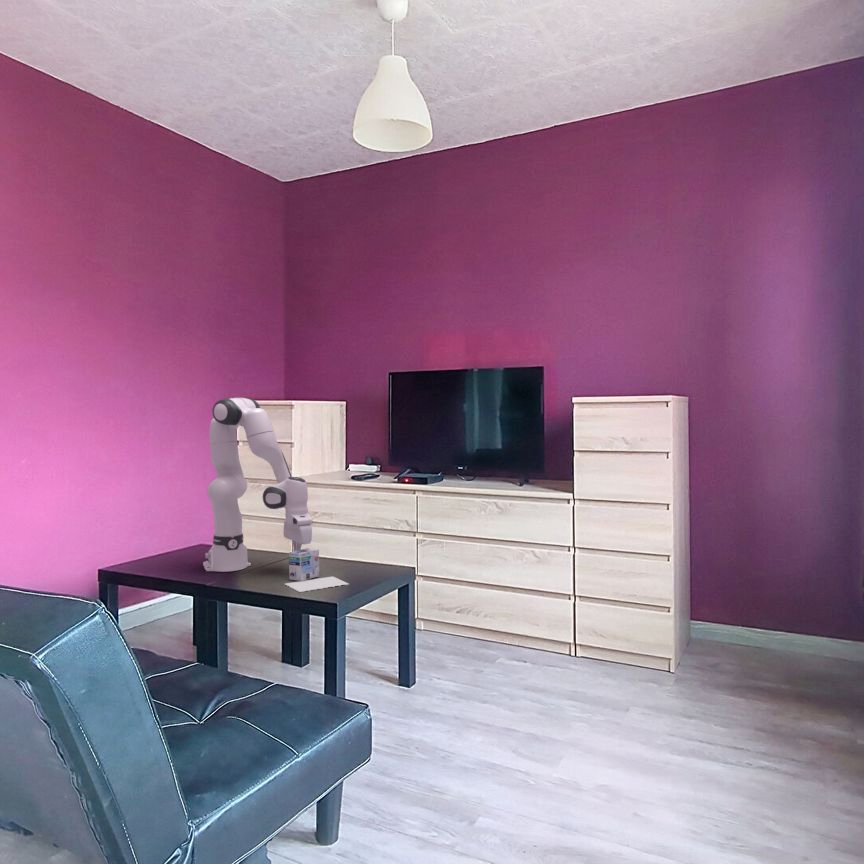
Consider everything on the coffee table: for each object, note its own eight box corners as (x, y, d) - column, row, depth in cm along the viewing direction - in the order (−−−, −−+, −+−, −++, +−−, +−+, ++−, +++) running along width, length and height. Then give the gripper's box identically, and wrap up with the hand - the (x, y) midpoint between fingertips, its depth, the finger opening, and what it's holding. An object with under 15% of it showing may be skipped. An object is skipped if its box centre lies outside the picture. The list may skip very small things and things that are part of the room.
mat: (284, 584, 250) (284, 583, 250) (332, 577, 262) (332, 576, 261) (299, 592, 239) (299, 591, 239) (349, 584, 250) (349, 583, 250)
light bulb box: (301, 581, 253) (301, 553, 253) (288, 580, 257) (287, 552, 257) (320, 576, 262) (319, 549, 262) (307, 574, 266) (306, 547, 266)
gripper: (279, 515, 272) (279, 548, 272) (299, 521, 255) (299, 557, 255) (293, 513, 276) (294, 546, 276) (314, 520, 259) (314, 555, 259)
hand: (297, 552), depth 266 cm, fingers closed
